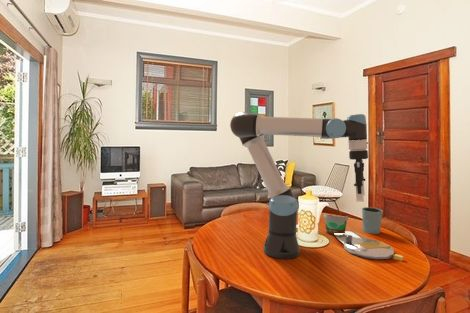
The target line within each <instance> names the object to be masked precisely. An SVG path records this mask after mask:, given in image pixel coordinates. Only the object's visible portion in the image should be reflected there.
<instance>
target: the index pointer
mask: <svg viewBox="0 0 470 313" xmlns="http://www.w3.org/2000/svg"><path fill="white" fill-rule="evenodd" d="M392 259H394V260H396V261H400V262H402V261H403V260H404V256H403V255H401V254H396V253H395V254H394V256H393V257H392Z"/></svg>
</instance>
